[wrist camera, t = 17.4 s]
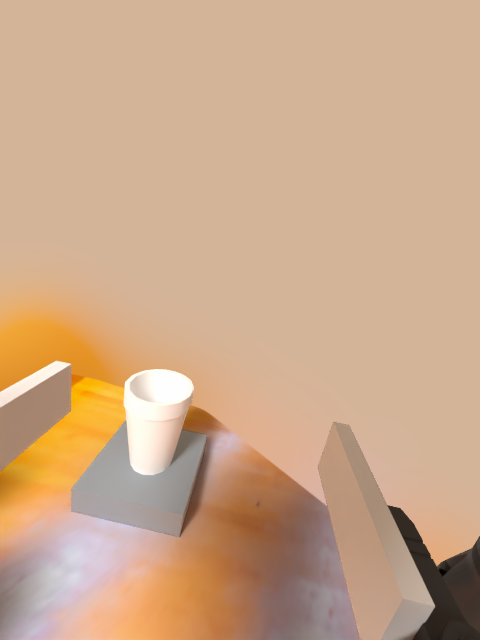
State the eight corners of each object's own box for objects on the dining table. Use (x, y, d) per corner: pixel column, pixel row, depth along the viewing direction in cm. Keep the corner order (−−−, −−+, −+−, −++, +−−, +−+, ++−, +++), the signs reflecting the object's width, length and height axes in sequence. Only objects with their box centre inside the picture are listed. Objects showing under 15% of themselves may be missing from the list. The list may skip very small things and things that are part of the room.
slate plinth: (204, 452, 50) (207, 434, 48) (179, 536, 35) (183, 514, 34) (126, 434, 50) (128, 417, 49) (71, 511, 36) (71, 488, 34)
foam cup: (170, 430, 48) (179, 366, 44) (191, 470, 41) (204, 397, 37) (113, 445, 42) (118, 373, 39) (125, 494, 35) (133, 412, 31)
